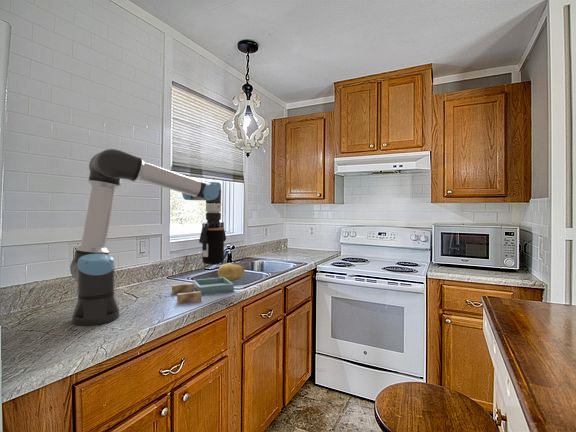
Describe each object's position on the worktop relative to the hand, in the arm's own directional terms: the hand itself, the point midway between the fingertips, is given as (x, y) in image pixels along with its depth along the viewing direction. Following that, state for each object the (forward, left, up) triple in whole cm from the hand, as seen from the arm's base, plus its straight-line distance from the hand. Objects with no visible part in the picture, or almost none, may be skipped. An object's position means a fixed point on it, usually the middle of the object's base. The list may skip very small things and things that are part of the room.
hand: (213, 255), depth 166 cm
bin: (0, 0, -17) cm, 17 cm away
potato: (+14, +14, -18) cm, 26 cm away
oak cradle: (-15, -10, -17) cm, 25 cm away
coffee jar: (0, 0, -4) cm, 4 cm away
